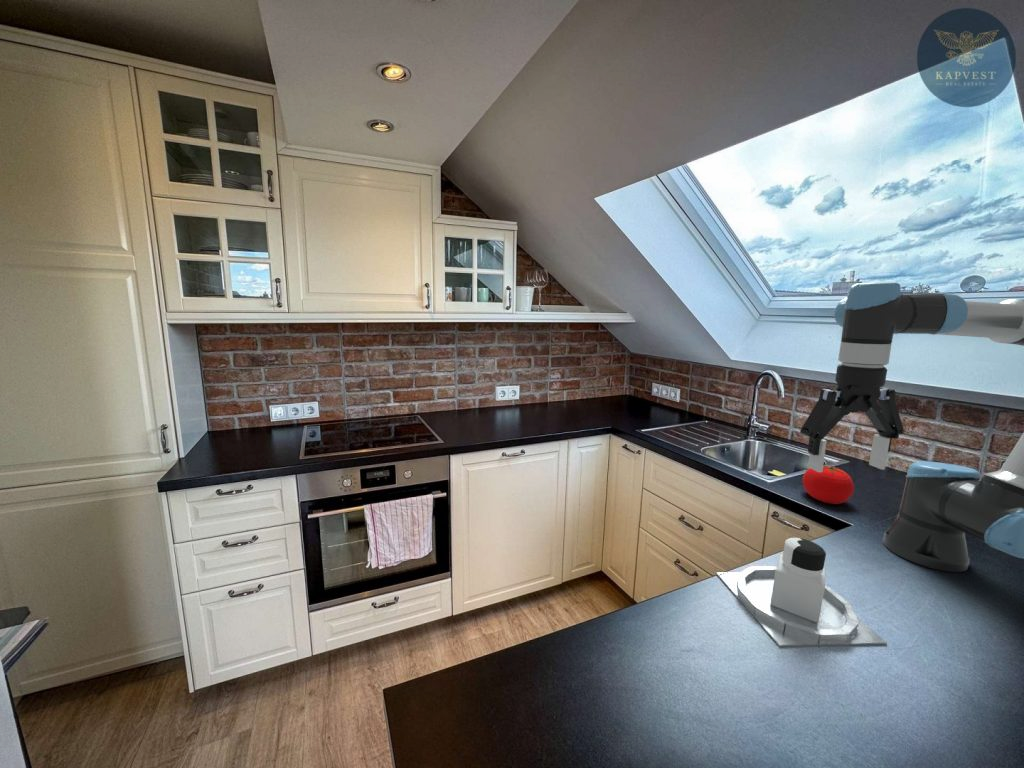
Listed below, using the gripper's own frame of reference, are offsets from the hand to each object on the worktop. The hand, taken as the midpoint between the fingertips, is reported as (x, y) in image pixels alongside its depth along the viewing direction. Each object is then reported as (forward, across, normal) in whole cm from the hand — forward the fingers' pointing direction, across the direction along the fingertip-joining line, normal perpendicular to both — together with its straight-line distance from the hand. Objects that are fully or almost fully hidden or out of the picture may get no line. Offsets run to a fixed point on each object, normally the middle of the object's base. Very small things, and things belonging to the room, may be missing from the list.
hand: (846, 468), depth 85 cm
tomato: (+28, -34, -39) cm, 59 cm away
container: (+26, +12, +6) cm, 29 cm away
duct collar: (+26, +13, +6) cm, 30 cm away
